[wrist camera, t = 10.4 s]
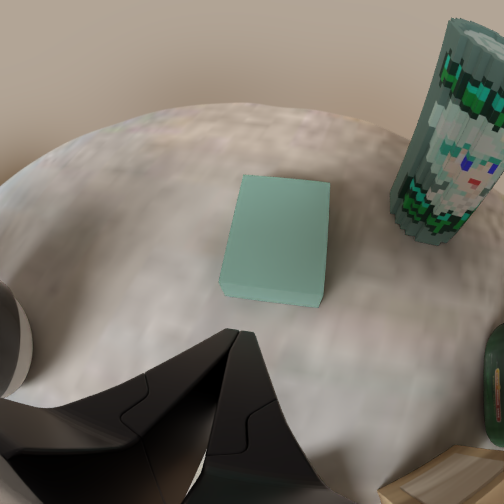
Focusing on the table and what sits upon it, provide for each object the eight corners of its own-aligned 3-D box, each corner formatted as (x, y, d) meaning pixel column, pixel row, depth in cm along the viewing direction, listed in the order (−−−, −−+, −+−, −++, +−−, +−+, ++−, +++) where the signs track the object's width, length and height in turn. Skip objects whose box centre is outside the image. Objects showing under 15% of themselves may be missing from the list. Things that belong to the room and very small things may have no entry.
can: (390, 236, 21) (474, 52, 8) (388, 173, 24) (438, 8, 10) (459, 250, 20) (569, 104, 7) (451, 188, 23) (523, 46, 9)
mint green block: (323, 295, 17) (330, 182, 20) (218, 282, 18) (243, 174, 21) (317, 308, 19) (325, 205, 23) (225, 296, 20) (247, 197, 24)
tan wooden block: (462, 471, 13) (536, 488, 6) (386, 517, 12) (438, 566, 5) (454, 442, 14) (531, 449, 7) (376, 487, 14) (429, 530, 6)
